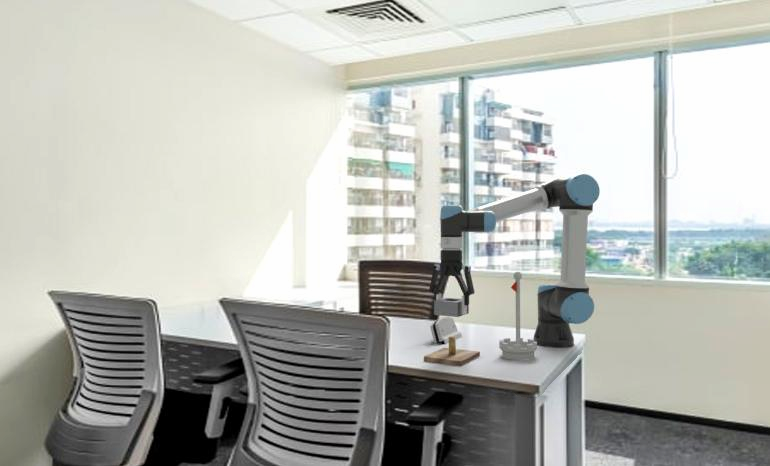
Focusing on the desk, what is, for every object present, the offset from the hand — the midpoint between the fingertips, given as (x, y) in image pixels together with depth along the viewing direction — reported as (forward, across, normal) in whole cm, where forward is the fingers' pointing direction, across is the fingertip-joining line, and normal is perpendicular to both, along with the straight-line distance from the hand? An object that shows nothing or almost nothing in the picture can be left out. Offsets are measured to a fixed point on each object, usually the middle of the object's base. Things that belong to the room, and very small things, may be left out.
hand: (451, 313), depth 203 cm
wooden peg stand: (+16, 0, 0) cm, 16 cm away
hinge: (+16, -16, +28) cm, 36 cm away
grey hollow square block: (0, 0, 0) cm, 0 cm away
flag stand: (+16, +19, +14) cm, 29 cm away
